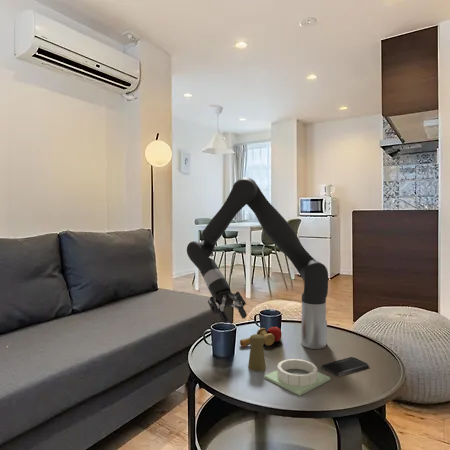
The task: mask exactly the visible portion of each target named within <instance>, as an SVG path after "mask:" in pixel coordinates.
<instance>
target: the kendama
mask: <svg viewBox="0 0 450 450" xmlns="http://www.w3.org/2000/svg"><path fill="white" fill-rule="evenodd" d="M256 334H259V335H262V336H263V337H264V340H265V342H264V345H265V346H267V347H268V346H271V345H273V344H274V343H277V342H279V341H280V340H281V339H282V337H283V336H282V334H283V333H282V330H281V329H280V328H279V326H278V327H277V326H275V327H273V326H271V328H270V327H269V328H268V329H266V328H264V327H260V328H259V329H258V330H257V331H256ZM249 338H250V337H248V338H243V339H240V341H239V344H240V346H241V348H245V347H247V346H251V345H250V343H249Z"/></svg>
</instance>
